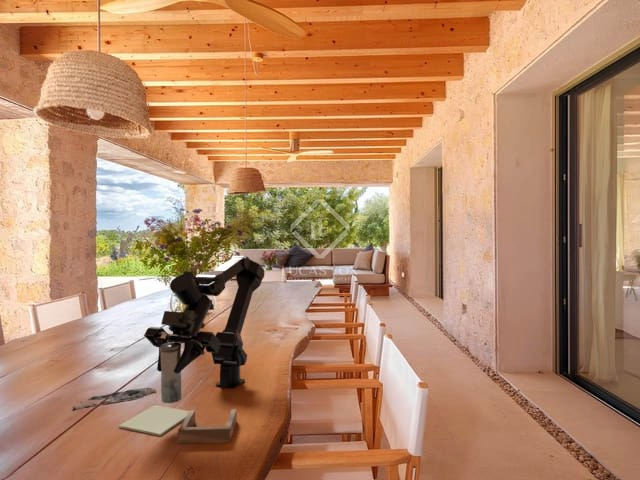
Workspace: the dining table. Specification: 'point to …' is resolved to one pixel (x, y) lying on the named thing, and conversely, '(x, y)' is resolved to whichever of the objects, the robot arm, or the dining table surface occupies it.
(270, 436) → the dining table surface
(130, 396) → the driftwood
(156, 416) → the tile
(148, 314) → the dining table surface
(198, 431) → the cubby
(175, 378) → the canister
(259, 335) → the dining table surface
